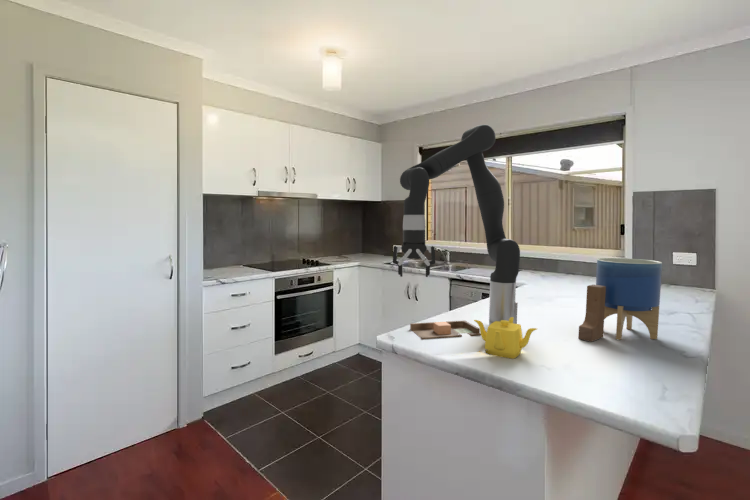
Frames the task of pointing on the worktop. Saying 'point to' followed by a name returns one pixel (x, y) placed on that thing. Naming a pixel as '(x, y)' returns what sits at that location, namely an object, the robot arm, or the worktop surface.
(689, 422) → the worktop surface
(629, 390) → the worktop surface
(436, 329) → the block
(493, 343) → the teapot
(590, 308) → the wooden block
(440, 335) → the box
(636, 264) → the planter
